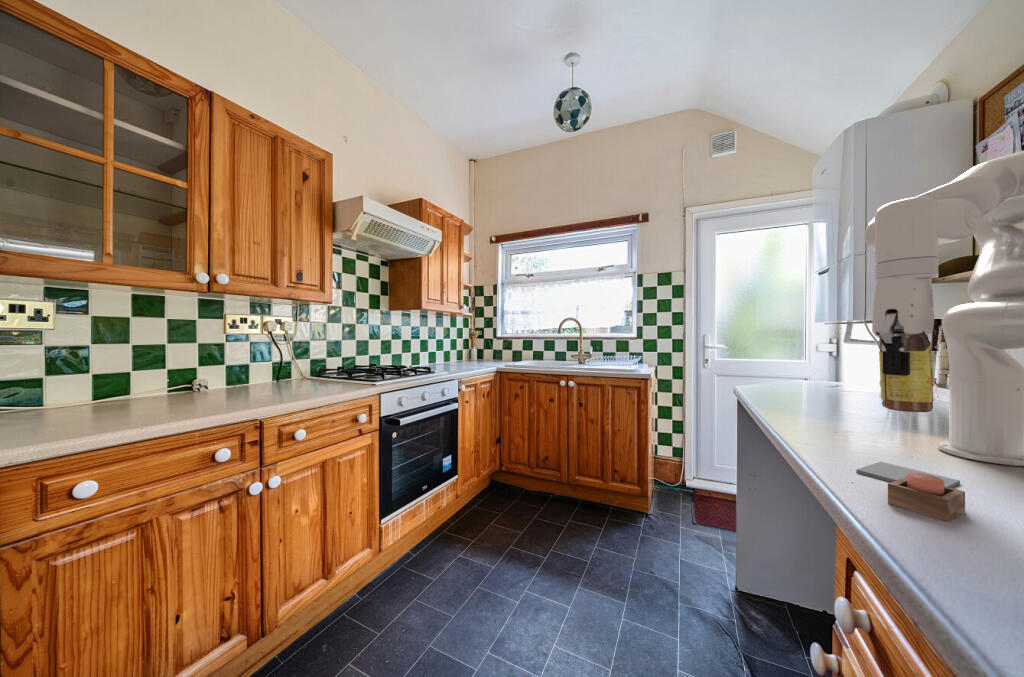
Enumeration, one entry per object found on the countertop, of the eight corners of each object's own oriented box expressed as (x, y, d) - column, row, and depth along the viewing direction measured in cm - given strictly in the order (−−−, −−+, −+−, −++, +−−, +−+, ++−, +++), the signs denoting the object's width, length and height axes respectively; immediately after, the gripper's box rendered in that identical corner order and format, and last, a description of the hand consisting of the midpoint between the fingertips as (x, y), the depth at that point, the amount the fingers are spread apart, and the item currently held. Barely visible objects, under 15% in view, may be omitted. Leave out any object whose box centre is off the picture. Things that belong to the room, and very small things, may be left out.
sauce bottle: (945, 414, 59) (944, 295, 59) (900, 413, 60) (899, 296, 60) (910, 406, 66) (909, 298, 65) (870, 405, 67) (869, 300, 66)
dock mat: (880, 464, 70) (880, 461, 69) (960, 483, 60) (960, 480, 60) (856, 472, 66) (856, 469, 66) (937, 494, 57) (937, 490, 57)
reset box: (906, 495, 57) (906, 476, 57) (965, 512, 51) (965, 491, 51) (887, 503, 54) (887, 483, 54) (947, 521, 49) (947, 500, 49)
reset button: (913, 486, 55) (913, 471, 55) (948, 496, 52) (948, 479, 52) (902, 491, 54) (902, 475, 54) (938, 501, 50) (938, 484, 50)
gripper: (898, 277, 69) (899, 369, 70) (852, 273, 63) (852, 374, 63) (958, 271, 63) (958, 372, 63) (913, 265, 56) (913, 379, 56)
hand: (905, 372), depth 63 cm, fingers closed on sauce bottle, 6 cm apart
